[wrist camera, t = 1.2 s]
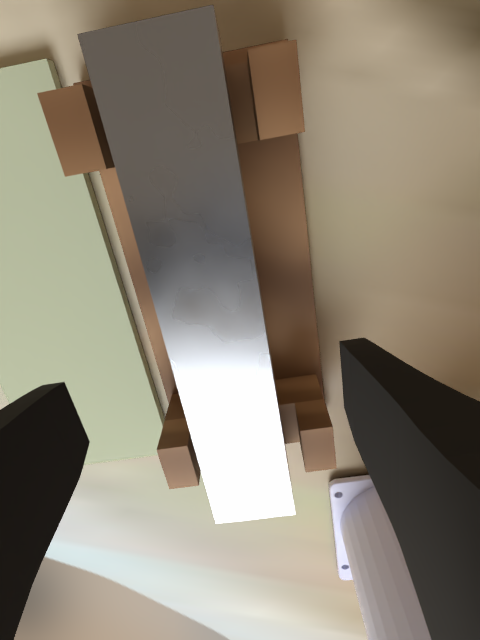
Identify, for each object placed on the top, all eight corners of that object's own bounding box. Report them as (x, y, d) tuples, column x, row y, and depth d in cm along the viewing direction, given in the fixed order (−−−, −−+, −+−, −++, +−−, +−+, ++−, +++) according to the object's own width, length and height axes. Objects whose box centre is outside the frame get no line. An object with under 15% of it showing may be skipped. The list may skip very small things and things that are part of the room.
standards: (324, 412, 23) (344, 480, 18) (182, 431, 23) (167, 501, 19) (285, 43, 15) (303, 3, 11) (80, 85, 16) (16, 64, 12)
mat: (173, 446, 24) (171, 453, 23) (47, 462, 24) (43, 470, 24) (53, 61, 16) (46, 58, 15) (-131, 100, 16) (-144, 99, 16)
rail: (287, 455, 20) (295, 514, 17) (219, 464, 20) (215, 523, 17) (220, 38, 13) (213, 4, 10) (117, 60, 13) (77, 33, 10)
